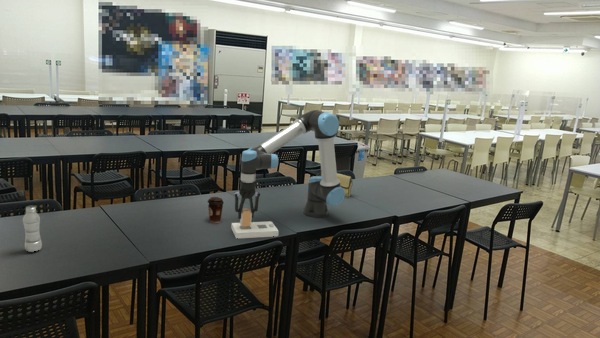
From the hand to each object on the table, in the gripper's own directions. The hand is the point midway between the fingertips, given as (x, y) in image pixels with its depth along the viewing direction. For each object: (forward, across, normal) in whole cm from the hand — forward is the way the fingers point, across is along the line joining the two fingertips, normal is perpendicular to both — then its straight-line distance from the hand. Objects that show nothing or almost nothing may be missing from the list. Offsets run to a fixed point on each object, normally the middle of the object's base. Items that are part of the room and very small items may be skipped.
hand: (245, 224), depth 228 cm
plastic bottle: (+5, +95, +8) cm, 95 cm away
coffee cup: (+5, +13, -19) cm, 24 cm away
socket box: (+5, -5, 0) cm, 7 cm away
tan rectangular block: (0, 0, 0) cm, 0 cm away
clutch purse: (+5, -78, -64) cm, 101 cm away
